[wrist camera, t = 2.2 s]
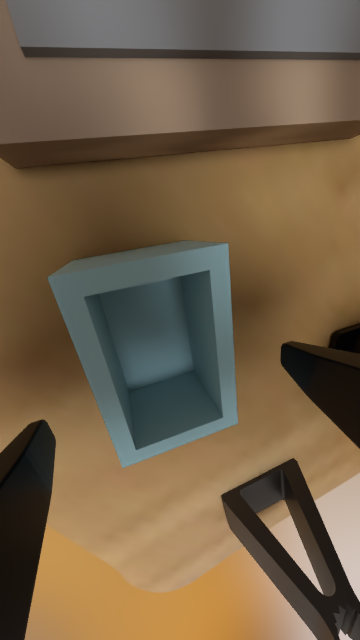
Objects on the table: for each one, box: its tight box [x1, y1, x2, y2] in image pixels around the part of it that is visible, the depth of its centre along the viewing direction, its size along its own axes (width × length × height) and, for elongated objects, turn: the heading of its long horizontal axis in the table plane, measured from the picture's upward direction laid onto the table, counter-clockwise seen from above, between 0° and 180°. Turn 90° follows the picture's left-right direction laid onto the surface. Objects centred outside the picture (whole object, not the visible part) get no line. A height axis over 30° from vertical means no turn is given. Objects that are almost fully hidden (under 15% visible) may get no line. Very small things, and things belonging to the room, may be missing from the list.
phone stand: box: [222, 459, 360, 640], centre depth 19 cm, size 9×6×12 cm, turn 102°
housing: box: [47, 240, 238, 468], centre depth 11 cm, size 6×10×5 cm, turn 8°
